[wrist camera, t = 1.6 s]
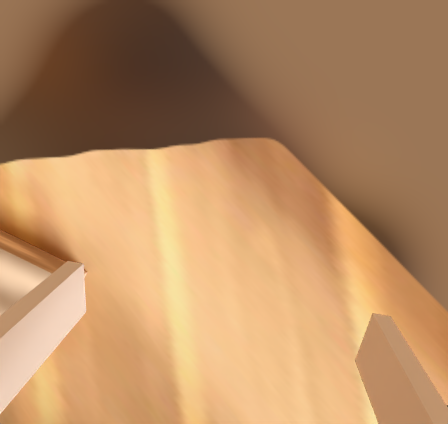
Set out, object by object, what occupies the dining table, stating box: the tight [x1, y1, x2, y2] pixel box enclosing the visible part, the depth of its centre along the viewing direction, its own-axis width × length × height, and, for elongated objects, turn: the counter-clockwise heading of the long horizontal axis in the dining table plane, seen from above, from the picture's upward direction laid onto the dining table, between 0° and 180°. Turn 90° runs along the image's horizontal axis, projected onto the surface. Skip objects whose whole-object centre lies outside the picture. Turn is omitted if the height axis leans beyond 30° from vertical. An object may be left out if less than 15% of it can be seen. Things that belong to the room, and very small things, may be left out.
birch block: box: [0, 230, 87, 315], centre depth 40 cm, size 12×14×6 cm
